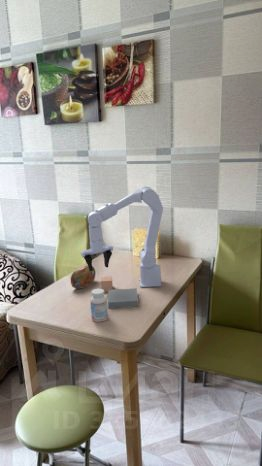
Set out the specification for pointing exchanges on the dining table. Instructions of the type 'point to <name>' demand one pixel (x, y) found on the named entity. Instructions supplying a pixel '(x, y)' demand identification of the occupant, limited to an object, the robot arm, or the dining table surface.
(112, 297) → the gray block
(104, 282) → the terracotta cube
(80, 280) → the tin
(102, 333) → the dining table surface
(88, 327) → the dining table surface
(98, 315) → the pill bottle
